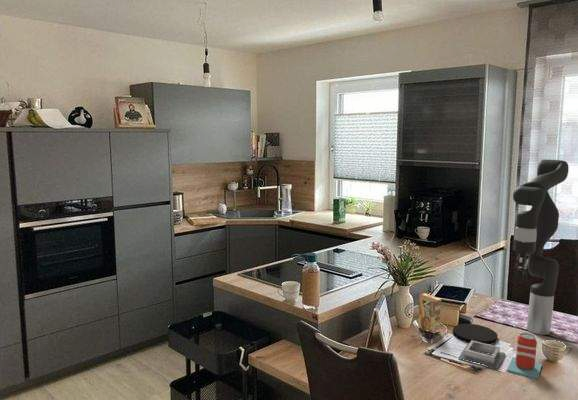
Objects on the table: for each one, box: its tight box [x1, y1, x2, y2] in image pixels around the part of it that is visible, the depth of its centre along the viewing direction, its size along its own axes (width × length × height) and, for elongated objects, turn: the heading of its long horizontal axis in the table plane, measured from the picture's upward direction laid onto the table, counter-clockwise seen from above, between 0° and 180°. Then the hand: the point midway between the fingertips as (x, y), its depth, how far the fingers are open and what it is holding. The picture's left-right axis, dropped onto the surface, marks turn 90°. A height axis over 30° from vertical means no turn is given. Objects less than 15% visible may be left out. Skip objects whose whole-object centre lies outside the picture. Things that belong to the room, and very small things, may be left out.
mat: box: [506, 356, 543, 380], centre depth 175 cm, size 12×10×1 cm
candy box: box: [417, 293, 442, 333], centre depth 207 cm, size 9×4×15 cm, turn 33°
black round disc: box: [452, 323, 498, 345], centre depth 203 cm, size 18×18×2 cm
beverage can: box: [515, 332, 538, 370], centre depth 174 cm, size 6×6×12 cm
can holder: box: [458, 340, 506, 371], centre depth 183 cm, size 14×14×4 cm
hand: (521, 280), depth 182 cm, fingers open, 8 cm apart
